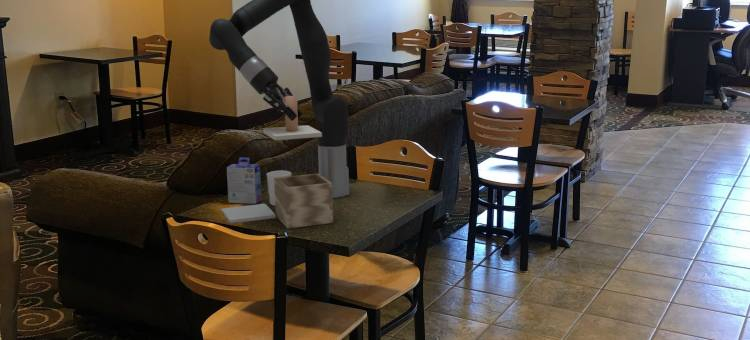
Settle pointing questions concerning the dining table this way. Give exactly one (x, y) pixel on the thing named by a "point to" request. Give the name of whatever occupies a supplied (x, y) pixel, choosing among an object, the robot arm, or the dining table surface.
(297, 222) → the box
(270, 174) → the white cup
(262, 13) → the robot arm
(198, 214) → the dining table surface
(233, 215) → the plate
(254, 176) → the ink cartridge box
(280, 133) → the lid
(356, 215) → the dining table surface
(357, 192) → the dining table surface
